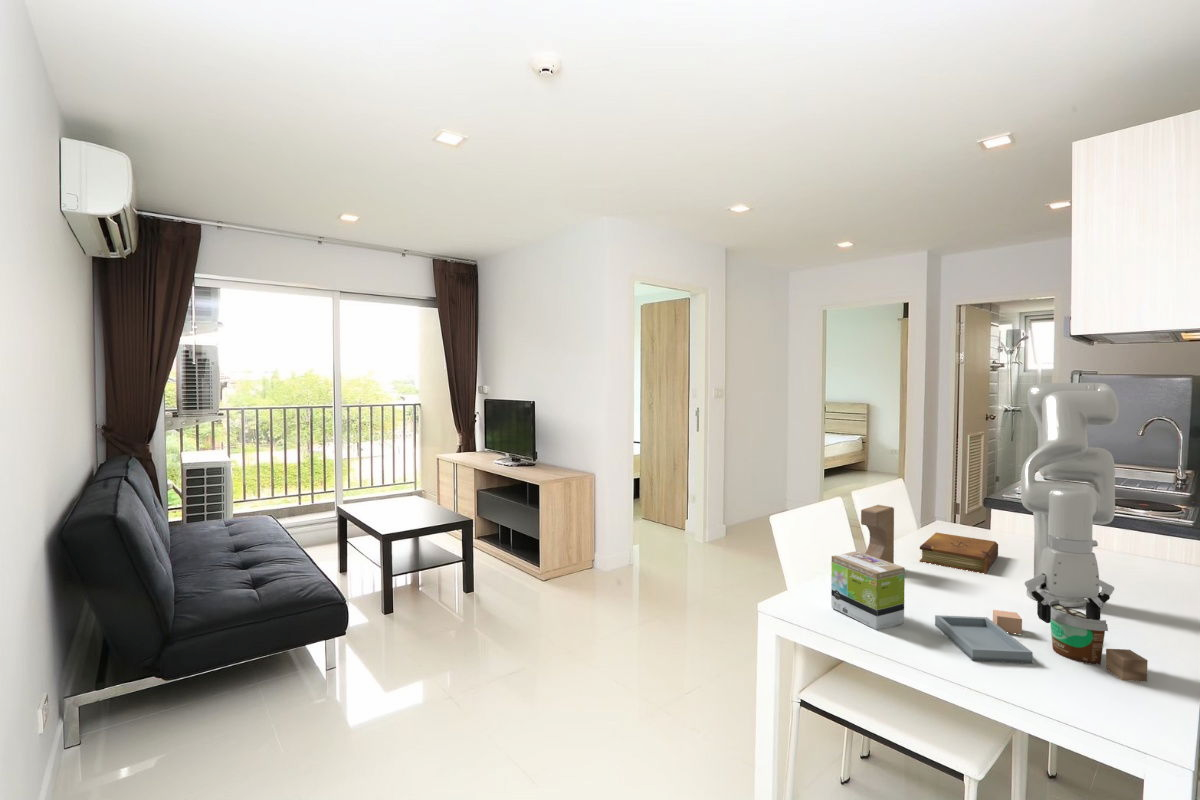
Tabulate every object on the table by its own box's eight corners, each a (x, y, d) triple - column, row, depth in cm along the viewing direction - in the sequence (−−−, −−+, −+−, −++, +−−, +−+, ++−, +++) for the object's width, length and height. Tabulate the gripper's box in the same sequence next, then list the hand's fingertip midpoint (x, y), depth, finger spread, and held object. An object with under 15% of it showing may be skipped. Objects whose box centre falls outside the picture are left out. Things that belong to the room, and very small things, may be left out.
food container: (1031, 642, 132) (1032, 600, 132) (1056, 641, 133) (1056, 598, 132) (1080, 669, 120) (1081, 622, 120) (1107, 667, 120) (1108, 621, 120)
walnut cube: (1129, 670, 119) (1129, 649, 119) (1146, 682, 115) (1147, 660, 115) (1105, 669, 120) (1106, 648, 120) (1122, 680, 116) (1122, 659, 115)
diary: (986, 576, 178) (986, 558, 177) (919, 563, 190) (919, 546, 190) (998, 557, 195) (998, 541, 194) (936, 547, 207) (936, 531, 207)
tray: (986, 627, 140) (987, 617, 140) (1032, 663, 123) (1032, 652, 122) (935, 625, 142) (935, 615, 142) (972, 660, 124) (972, 649, 124)
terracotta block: (1016, 628, 140) (1017, 612, 140) (1021, 635, 136) (1022, 619, 136) (992, 625, 142) (992, 609, 142) (996, 632, 138) (997, 616, 138)
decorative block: (877, 576, 177) (877, 512, 176) (859, 571, 182) (859, 509, 181) (894, 568, 184) (895, 507, 183) (877, 564, 188) (877, 504, 187)
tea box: (829, 608, 153) (829, 554, 152) (857, 602, 157) (857, 549, 156) (876, 631, 139) (877, 571, 138) (905, 624, 143) (906, 565, 142)
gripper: (1100, 541, 128) (1099, 617, 128) (1016, 539, 130) (1015, 613, 130) (1126, 551, 120) (1125, 631, 121) (1037, 548, 123) (1036, 626, 123)
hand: (1068, 621), depth 126 cm, fingers open, 9 cm apart
